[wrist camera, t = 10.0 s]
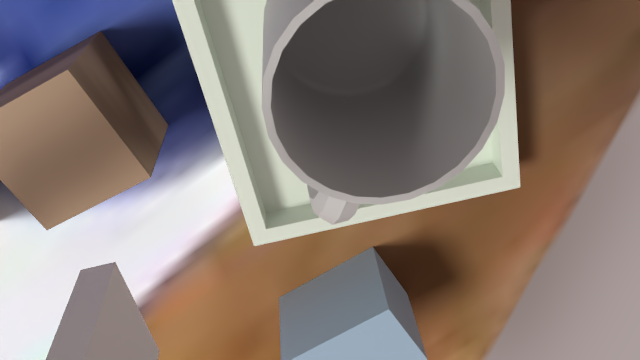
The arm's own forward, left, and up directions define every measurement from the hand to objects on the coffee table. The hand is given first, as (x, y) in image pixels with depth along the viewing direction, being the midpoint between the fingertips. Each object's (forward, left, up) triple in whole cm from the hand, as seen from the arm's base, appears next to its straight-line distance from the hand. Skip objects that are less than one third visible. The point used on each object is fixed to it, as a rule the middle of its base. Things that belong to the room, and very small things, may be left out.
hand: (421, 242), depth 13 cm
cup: (0, 0, -15) cm, 15 cm away
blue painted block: (+14, -3, -15) cm, 21 cm away
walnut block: (0, -12, -15) cm, 19 cm away
